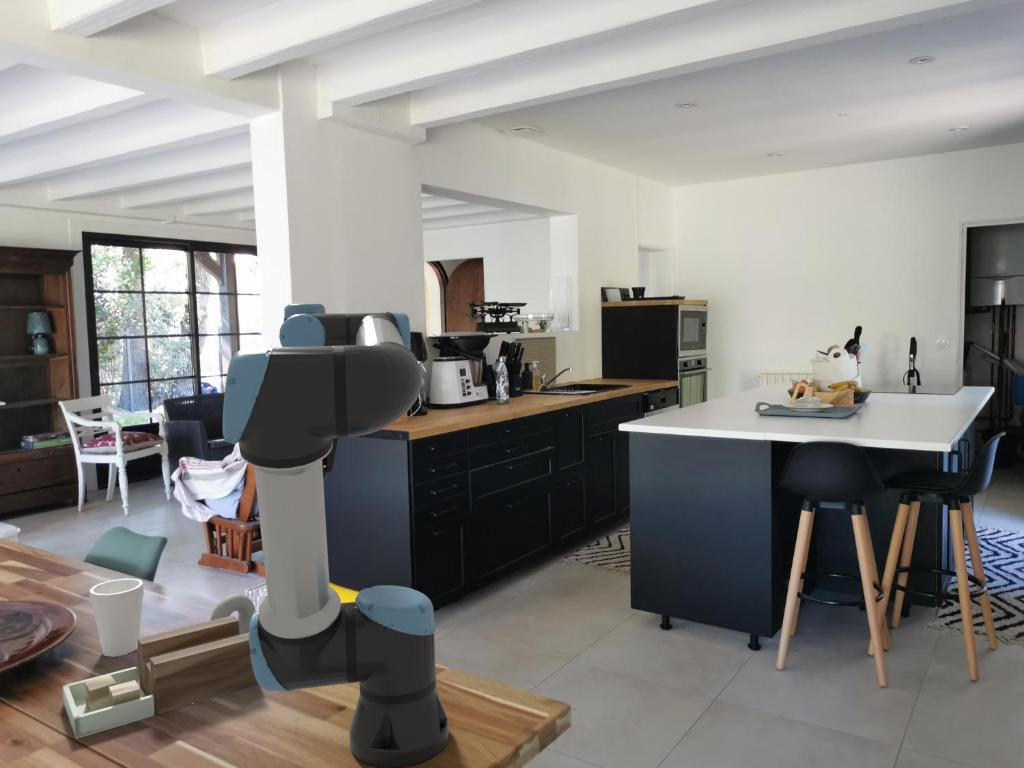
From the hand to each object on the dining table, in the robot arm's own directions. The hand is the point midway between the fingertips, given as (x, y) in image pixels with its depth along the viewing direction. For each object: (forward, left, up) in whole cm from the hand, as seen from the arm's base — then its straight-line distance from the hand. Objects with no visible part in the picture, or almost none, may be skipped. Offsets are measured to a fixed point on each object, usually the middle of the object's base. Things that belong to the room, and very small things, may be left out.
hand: (313, 510), depth 147 cm
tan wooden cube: (+5, +37, -24) cm, 44 cm away
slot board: (+4, +21, -29) cm, 36 cm away
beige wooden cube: (+2, +34, -26) cm, 43 cm away
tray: (+4, +36, -29) cm, 46 cm away
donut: (+18, +11, -29) cm, 36 cm away
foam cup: (+29, +30, -29) cm, 50 cm away
